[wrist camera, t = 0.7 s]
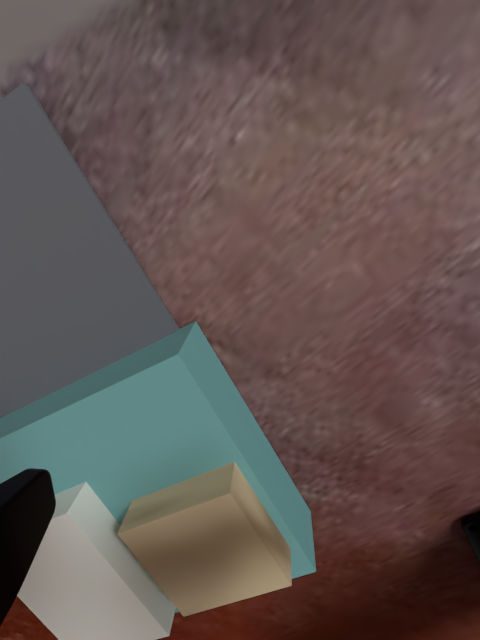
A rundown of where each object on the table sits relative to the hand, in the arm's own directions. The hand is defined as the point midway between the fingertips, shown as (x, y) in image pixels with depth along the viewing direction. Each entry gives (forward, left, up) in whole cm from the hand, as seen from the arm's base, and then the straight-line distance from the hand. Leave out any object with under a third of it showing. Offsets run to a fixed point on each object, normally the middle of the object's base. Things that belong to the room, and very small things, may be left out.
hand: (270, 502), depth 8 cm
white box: (-8, +15, -9) cm, 20 cm away
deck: (-6, +12, -13) cm, 19 cm away
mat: (+7, +12, -13) cm, 20 cm away
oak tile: (-8, +8, -9) cm, 15 cm away
